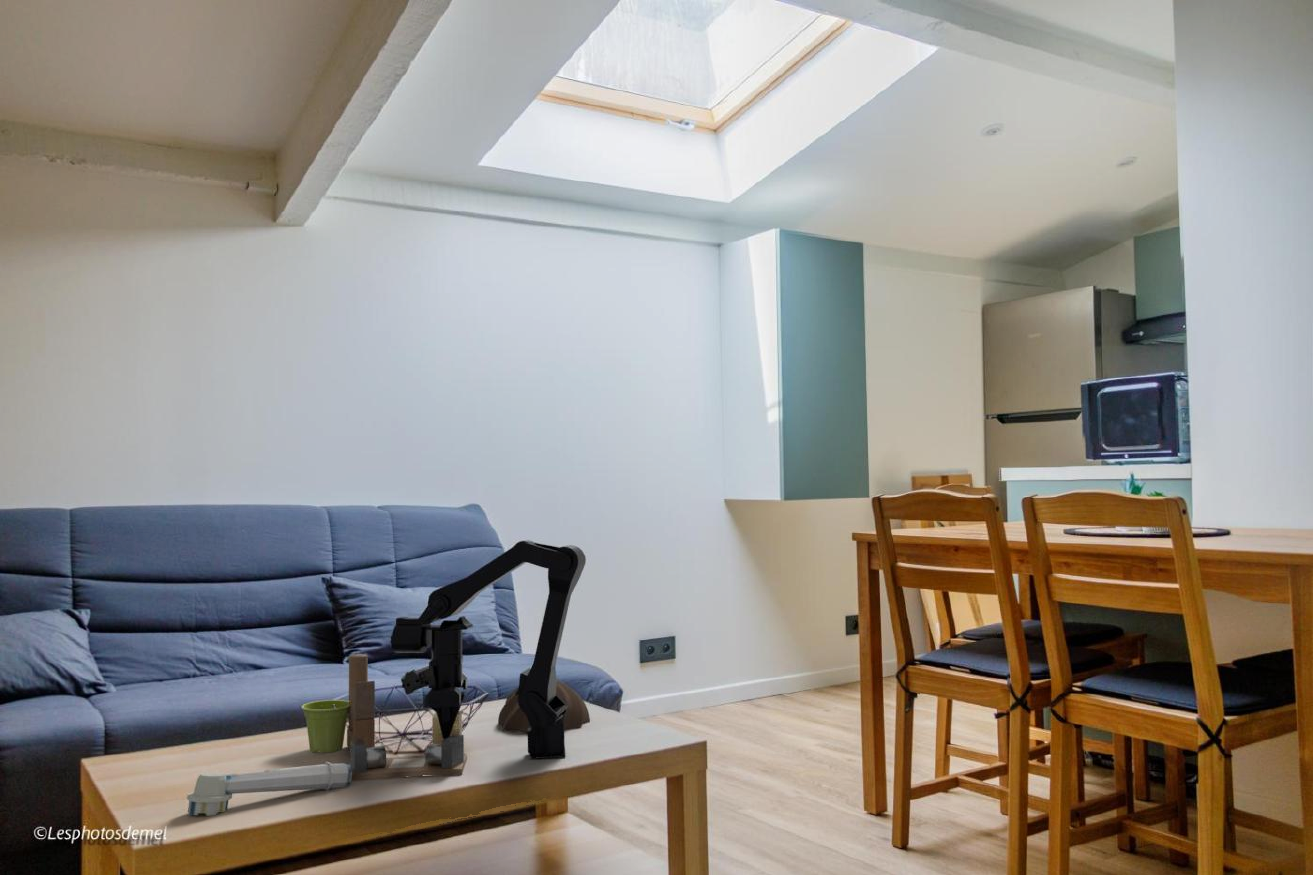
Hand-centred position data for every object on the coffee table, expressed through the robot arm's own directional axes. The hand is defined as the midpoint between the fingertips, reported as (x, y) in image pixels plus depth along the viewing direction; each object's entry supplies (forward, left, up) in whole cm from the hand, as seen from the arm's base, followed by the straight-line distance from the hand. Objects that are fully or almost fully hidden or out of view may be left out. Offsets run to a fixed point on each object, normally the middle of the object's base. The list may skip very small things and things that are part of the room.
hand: (447, 735), depth 184 cm
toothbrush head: (+26, +25, -4) cm, 36 cm away
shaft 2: (-1, +13, -2) cm, 13 cm away
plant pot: (+24, -7, -4) cm, 25 cm away
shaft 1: (+12, +13, -2) cm, 18 cm away
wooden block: (+17, -4, -4) cm, 18 cm away
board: (+6, +11, -3) cm, 13 cm away
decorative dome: (-18, -22, -4) cm, 29 cm away
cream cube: (0, 0, -1) cm, 1 cm away
